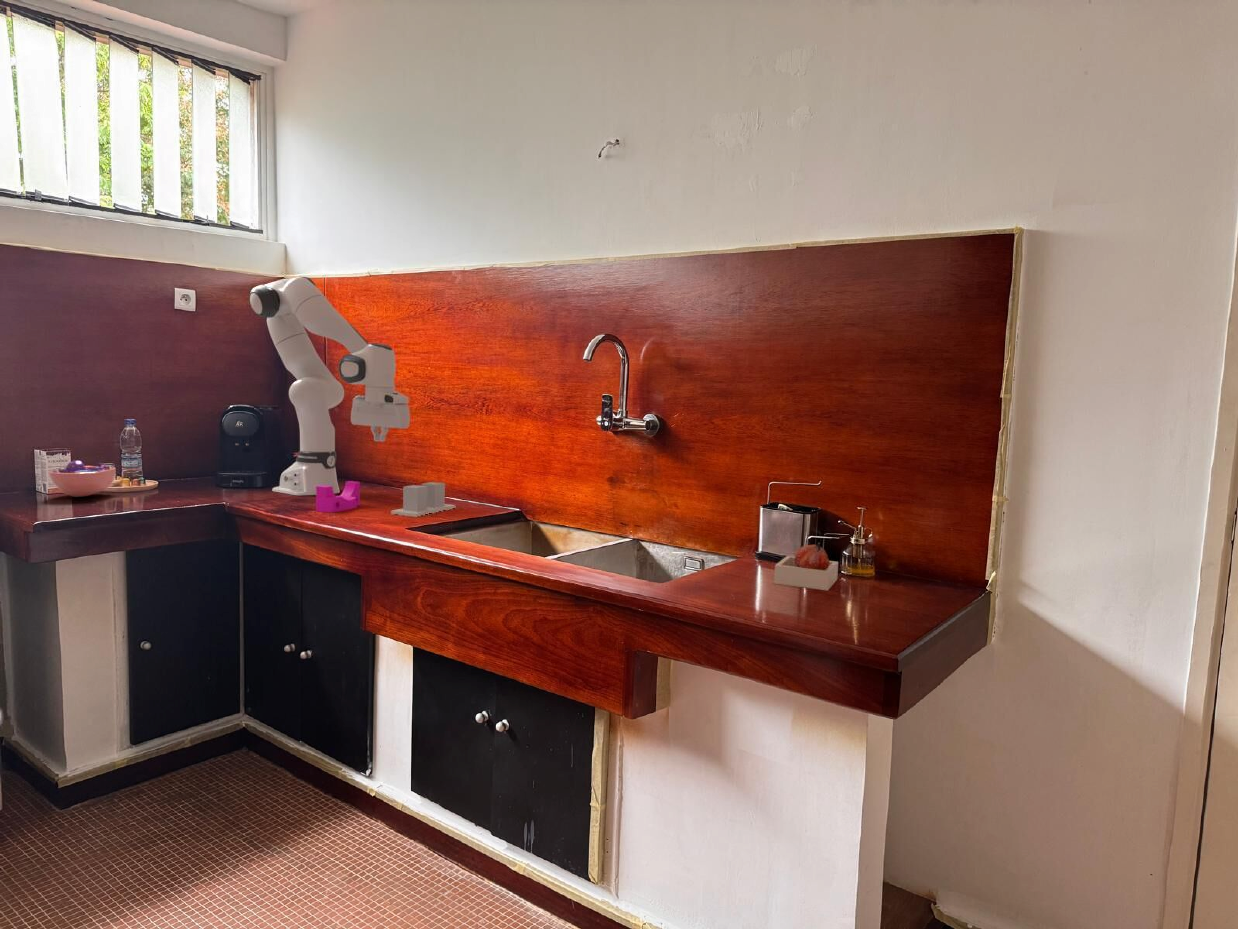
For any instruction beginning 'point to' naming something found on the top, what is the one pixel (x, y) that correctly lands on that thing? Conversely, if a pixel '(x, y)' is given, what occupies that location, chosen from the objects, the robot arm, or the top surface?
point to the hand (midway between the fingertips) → (379, 441)
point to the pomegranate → (812, 557)
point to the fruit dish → (805, 575)
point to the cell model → (82, 478)
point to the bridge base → (423, 500)
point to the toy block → (337, 498)
